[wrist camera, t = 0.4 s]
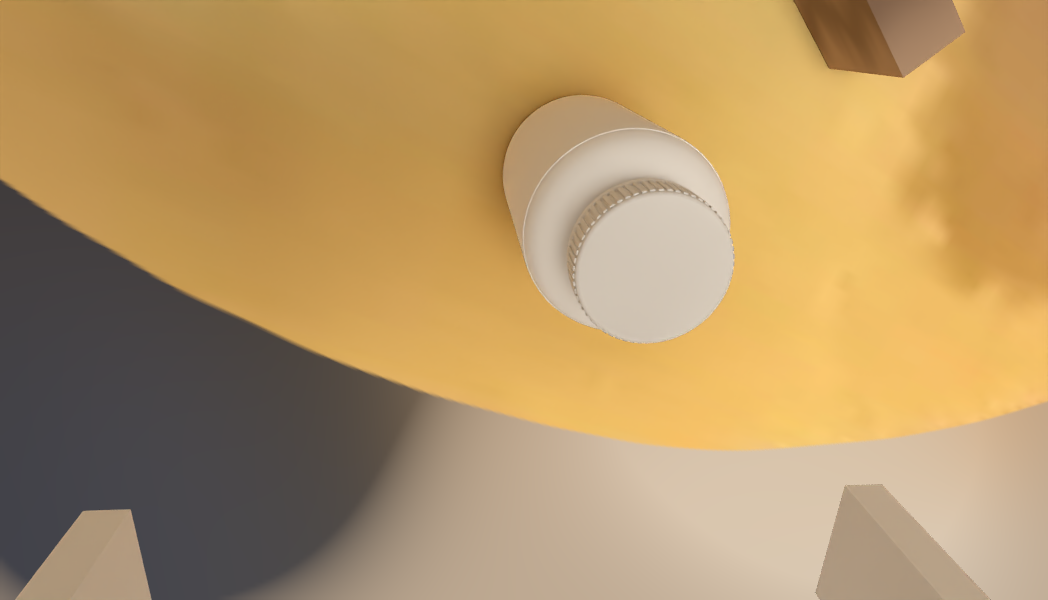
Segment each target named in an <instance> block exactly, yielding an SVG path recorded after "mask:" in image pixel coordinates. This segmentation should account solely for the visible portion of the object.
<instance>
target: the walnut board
mask: <svg viewBox="0 0 1048 600" xmlns="http://www.w3.org/2000/svg"><path fill="white" fill-rule="evenodd" d="M794 2H795V4H796V5H797V7H798V9H799V11H800V13H801V15H802V17H803V19H804V21H805V23H806V25H807V27H808V29H809V30H810V32H811V34H812V36H813V38H814V40H815V42H816V44H817V46H818V48H819V50H820V52H821V54H822V56H823V57H824V59H825V61H826V63H827V65H828V67H829V68H830V69H838V70H846V71H854V72H862V73H870V74H878V75H886V76H894V77H902V78H904V77H905V76H906V75H908V74H909V73H910V72H912V71H913V70H914V69H916V68H917V67H919V66H920V65H921V64H923V63H924V62H925V61H927V60H928V59H929V58H931V57H932V56H933V55H935V54H936V53H937V52H939V51H940V50H942V49H943V48H944V47H946V46H947V45H948V44H950V43H951V42H952V41H954V40H955V39H956V38H958V37H959V36H961V35H962V34H963V33H965V30H964V27H963V25H962V22H961V20H960V18H959V15H958V13H957V10H956V8H955V6H954V3H953V1H952V0H794Z"/></svg>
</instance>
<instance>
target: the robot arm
mask: <svg viewBox="0 0 1048 600" xmlns="http://www.w3.org/2000/svg"><path fill="white" fill-rule="evenodd" d="M816 594H817V596H818V598H819V599H820V600H990V598H989V597H988V596H987V595H986V594H985V593H984V592H983V591H982V590H981V589H980V588H979V587H978V586H977V585H976V584H975V583H974V581H973V580H972V579H971V578H970V577H969V576H968V575H967V574H966V573H965V572H964V571H963V570H962V569H961V568H960V567H959V566H958V565H957V564H956V563H955V561H954V560H953V559H952V558H951V557H950V556H949V555H948V554H947V553H946V552H945V551H944V550H943V549H942V548H941V547H940V545H939V544H938V543H937V542H936V541H935V540H934V539H933V538H932V537H931V536H930V535H929V534H928V533H927V532H926V531H925V530H924V529H923V527H922V526H921V525H920V524H919V523H918V522H917V521H916V520H915V519H914V518H913V517H912V516H911V515H910V514H909V513H908V512H907V511H906V510H905V509H904V507H903V506H901V504H900V503H899V502H898V501H897V500H896V499H895V498H894V497H893V496H892V495H891V494H890V493H889V492H888V490H887V489H886V488H885V487H884V486H883V485H882V484H877V485H847V486H845V487H844V491H843V495H842V498H841V502H840V505H839V509H838V513H837V516H836V520H835V524H834V527H833V531H832V535H831V538H830V542H829V546H828V549H827V552H826V556H825V560H824V563H823V567H822V571H821V574H820V578H819V581H818V585H817V589H816ZM15 600H151V596H150V592H149V587H148V583H147V579H146V574H145V570H144V566H143V562H142V557H141V553H140V548H139V544H138V540H137V535H136V531H135V527H134V523H133V518H132V514H131V510H100V511H83V512H82V513H81V515H80V516H79V517H78V518H77V520H76V521H75V523H74V524H73V525H72V526H71V528H70V529H69V531H68V532H67V533H66V534H65V535H64V537H63V538H62V539H61V541H60V542H59V543H58V545H57V546H56V547H55V548H54V550H53V551H52V552H51V554H50V555H49V556H48V558H47V559H46V560H45V561H44V563H43V564H42V566H41V567H40V568H39V569H38V571H37V572H36V573H35V575H34V576H33V577H32V579H31V580H30V581H29V582H28V584H27V585H26V586H25V588H24V589H23V590H22V591H21V593H20V594H19V595H18V597H17V598H16V599H15Z"/></svg>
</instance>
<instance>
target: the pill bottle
mask: <svg viewBox="0 0 1048 600" xmlns="http://www.w3.org/2000/svg"><path fill="white" fill-rule="evenodd" d="M503 186H504V192H505V196H506V200H507V203H508V206H509V210H510V213H511V216H512V220H513V223H514V226H515V230H516V233H517V237H518V240H519V243H520V247H521V250H522V253H523V257H524V260H525V263H526V266H527V269H528V271H529V274H530V276H531V278H532V280H533V282H534V283H535V285H536V287H537V288H538V290H539V291H540V293H541V294H542V295H543V296H544V298H545V299H546V300H547V301H548V302H549V303H550V304H551V305H552V306H553V307H554V308H556V309H557V310H558V311H560V312H561V313H562V314H564V315H566V316H567V317H569V318H571V319H573V320H574V321H576V322H579V323H581V324H583V325H586V326H589V327H592V328H596V329H601V330H602V331H603V332H605V333H608V334H609V335H610V336H612V337H613V336H614V337H615V338H617V339H622V340H623V341H630V342H632V343H635V342H636V343H657V342H662V341H667V340H670V339H673V338H676V337H679V336H681V335H683V334H685V333H687V332H689V331H691V330H692V329H694V328H695V327H697V326H698V325H700V324H701V323H702V322H703V321H704V320H706V319H707V318H708V317H709V316H710V315H711V314H712V312H713V311H714V310H715V309H716V308H717V306H718V305H719V303H720V302H721V300H722V299H723V297H724V295H725V293H726V291H727V289H728V287H729V284H730V281H731V278H732V274H733V266H734V253H733V251H734V246H732V244H733V241H732V239H731V238H730V236H731V234H730V211H729V205H728V200H727V196H726V193H725V190H724V187H723V184H722V182H721V180H720V178H719V176H718V174H717V172H716V170H715V169H714V167H713V166H712V165H711V163H710V162H709V161H708V160H707V158H706V157H705V156H704V155H703V154H702V153H701V152H700V151H698V150H697V149H696V148H695V147H694V146H692V145H691V144H690V143H688V142H687V141H685V140H684V139H682V138H680V137H678V136H677V135H675V134H673V133H671V132H669V131H667V130H666V129H664V128H662V127H660V126H658V125H656V124H655V123H653V122H651V121H649V120H647V119H645V118H644V117H642V116H640V115H638V114H636V113H634V112H633V111H631V110H629V109H627V108H625V107H623V106H622V105H620V104H618V103H616V102H614V101H611V100H609V99H606V98H602V97H598V96H591V95H574V96H567V97H563V98H559V99H556V100H554V101H551V102H549V103H547V104H545V105H543V106H542V107H540V108H538V109H537V110H536V111H534V112H533V113H532V114H531V115H530V116H528V117H527V118H526V119H525V120H524V122H523V123H522V124H521V125H520V126H519V128H518V129H517V131H516V132H515V134H514V136H513V137H512V139H511V141H510V144H509V146H508V149H507V152H506V156H505V160H504V167H503Z"/></svg>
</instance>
